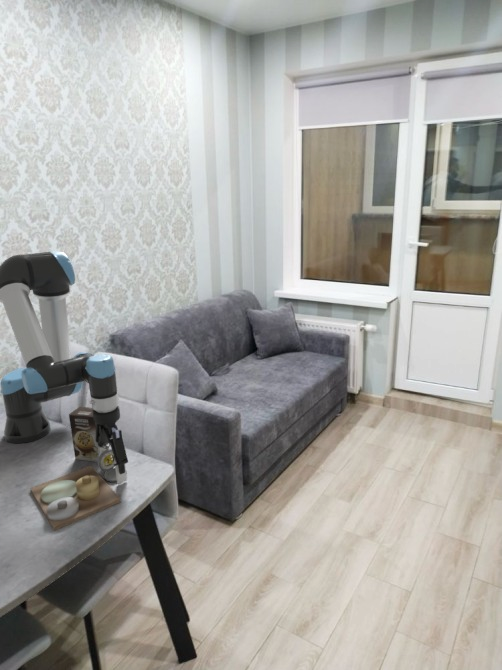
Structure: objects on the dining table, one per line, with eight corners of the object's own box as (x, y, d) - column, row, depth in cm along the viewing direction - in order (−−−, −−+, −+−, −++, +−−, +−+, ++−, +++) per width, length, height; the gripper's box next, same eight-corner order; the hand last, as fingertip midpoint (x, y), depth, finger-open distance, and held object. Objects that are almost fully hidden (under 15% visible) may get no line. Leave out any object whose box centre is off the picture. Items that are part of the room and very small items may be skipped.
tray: (30, 491, 138) (27, 472, 136) (91, 468, 148) (89, 450, 147) (54, 530, 121) (50, 509, 119) (120, 501, 132) (118, 482, 130)
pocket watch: (120, 484, 140) (117, 454, 137) (94, 481, 142) (90, 451, 139) (132, 468, 148) (129, 440, 145) (107, 466, 149) (104, 437, 146)
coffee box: (74, 459, 153) (67, 414, 149) (85, 449, 159) (79, 405, 155) (99, 462, 151) (93, 416, 147) (109, 452, 157) (104, 407, 153)
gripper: (78, 398, 145) (87, 461, 151) (109, 425, 127) (118, 495, 133) (102, 391, 149) (110, 453, 156) (135, 417, 132) (142, 485, 138)
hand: (113, 473), depth 144 cm, fingers open, 11 cm apart
